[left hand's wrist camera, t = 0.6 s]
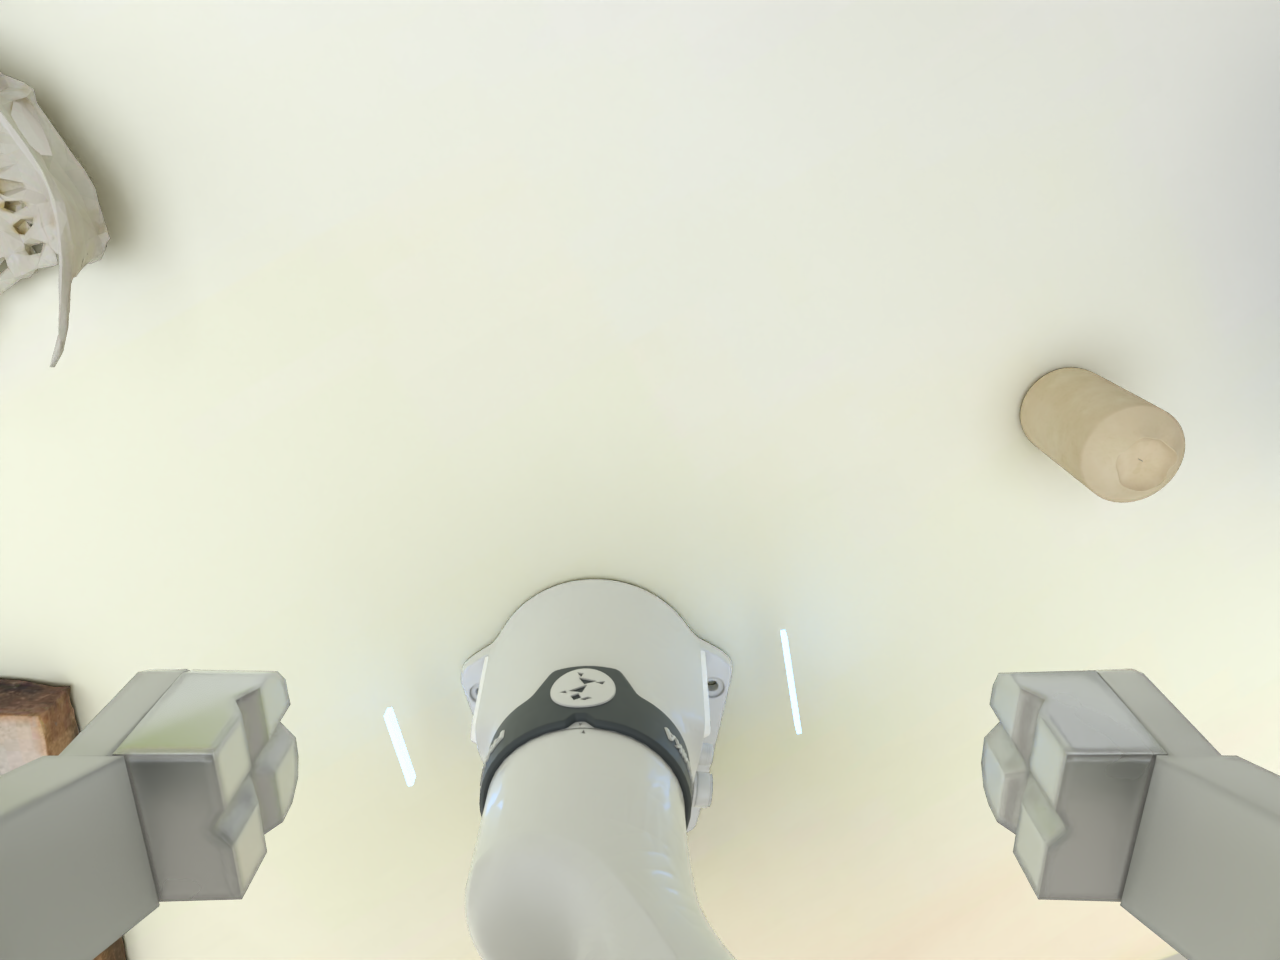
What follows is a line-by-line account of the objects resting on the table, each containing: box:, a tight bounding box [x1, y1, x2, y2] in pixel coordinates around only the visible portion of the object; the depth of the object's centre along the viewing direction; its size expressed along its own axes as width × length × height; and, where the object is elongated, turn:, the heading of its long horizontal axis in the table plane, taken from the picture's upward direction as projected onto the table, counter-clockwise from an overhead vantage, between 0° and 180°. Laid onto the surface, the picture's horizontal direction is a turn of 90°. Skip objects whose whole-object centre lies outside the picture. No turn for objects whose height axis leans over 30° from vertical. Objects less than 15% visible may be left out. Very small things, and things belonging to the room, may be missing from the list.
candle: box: [1020, 368, 1185, 502], centre depth 52 cm, size 6×6×10 cm
